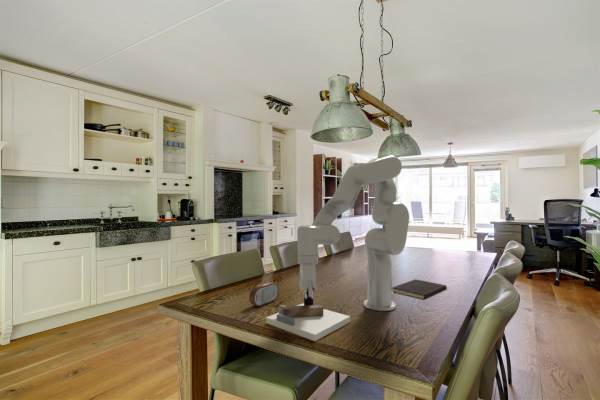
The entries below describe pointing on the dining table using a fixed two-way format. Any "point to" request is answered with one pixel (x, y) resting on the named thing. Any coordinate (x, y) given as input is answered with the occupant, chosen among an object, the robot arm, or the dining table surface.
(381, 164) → the robot arm
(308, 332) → the white flat square panel
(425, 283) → the hardcover book
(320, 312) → the folding leg
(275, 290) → the tin
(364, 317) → the dining table surface
